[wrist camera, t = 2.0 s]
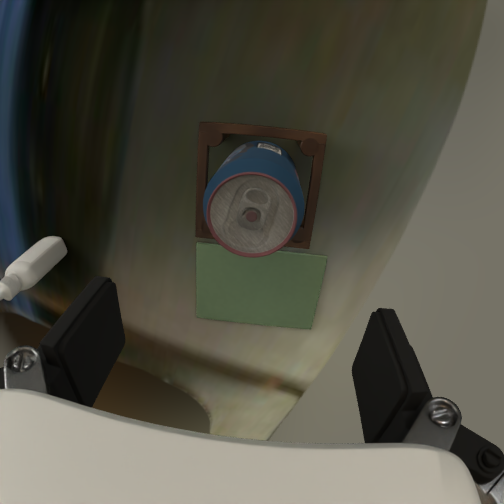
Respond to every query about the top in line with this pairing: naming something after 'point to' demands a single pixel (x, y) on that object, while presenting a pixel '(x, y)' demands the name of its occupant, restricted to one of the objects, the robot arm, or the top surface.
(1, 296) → the eye dropper bottle
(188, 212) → the top surface
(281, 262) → the mat
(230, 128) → the can rack
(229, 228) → the soda can
